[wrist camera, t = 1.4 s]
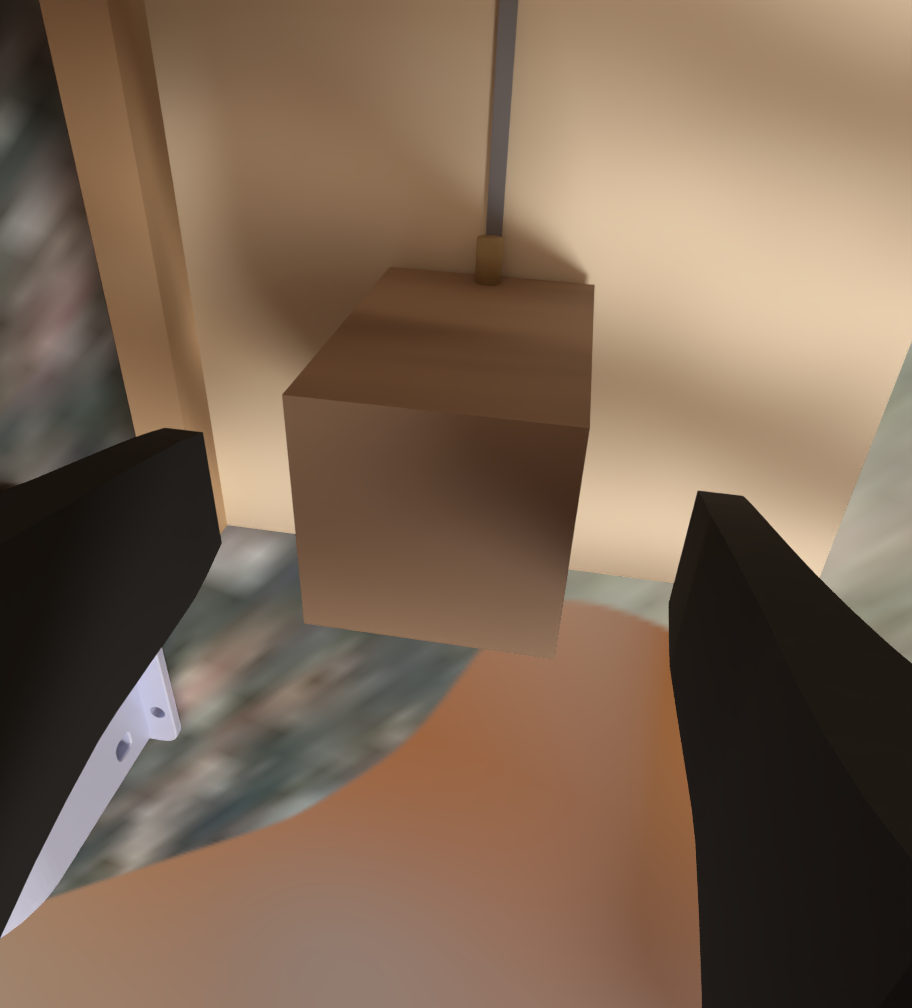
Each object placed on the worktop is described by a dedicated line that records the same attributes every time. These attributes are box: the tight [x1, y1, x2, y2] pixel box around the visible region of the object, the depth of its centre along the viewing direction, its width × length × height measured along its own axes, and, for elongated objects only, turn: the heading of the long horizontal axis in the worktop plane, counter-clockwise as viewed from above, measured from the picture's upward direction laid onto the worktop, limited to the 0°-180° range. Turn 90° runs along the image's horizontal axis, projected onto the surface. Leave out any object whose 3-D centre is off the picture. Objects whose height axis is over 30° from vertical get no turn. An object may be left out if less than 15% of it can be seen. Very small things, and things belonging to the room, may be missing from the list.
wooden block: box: [282, 235, 595, 659], centre depth 13 cm, size 5×4×6 cm
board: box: [39, 0, 912, 583], centre depth 13 cm, size 22×16×3 cm
